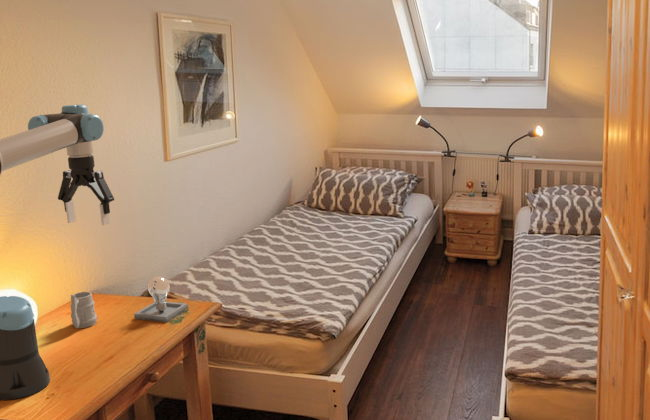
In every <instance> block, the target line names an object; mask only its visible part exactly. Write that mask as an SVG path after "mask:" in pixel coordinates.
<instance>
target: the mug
mask: <svg viewBox="0 0 650 420" xmlns="http://www.w3.org/2000/svg"><path fill="white" fill-rule="evenodd" d="M70 301H71V302H70V303H71V304H70V311H71V314H70V318H71V322H72V323H71V324H72V325H73V326H74V328H75V329H78V328H79V329H85V328H89V327H92V326H94V325H96V324H97V322H98V321H97V319H98V315H97V314H96V310H95V304H96V303H95V300H93V294H92V292H91V291H80V292H76V293H73V294H71V295H70Z"/></svg>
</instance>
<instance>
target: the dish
mask: <svg viewBox="0 0 650 420" xmlns="http://www.w3.org/2000/svg"><path fill="white" fill-rule="evenodd" d="M187 308H188V309H189V303H184V302H173V301H166V309H165V310H164V311H163V312H160V311H158V310H157V309H156V303H155V302H154V301H153V302H152V303H150V304H148V305H147V306H145V307H144V308H141V309H140V310H138V311H136V312H134V313H133V315H134V319H135V320H140V321H141V320H143V321H152V322H158V323H159V322H161V323H168V322H170V321H172V320H173V319H175V318H176V317H178V316H179V315H181V314H182V312H183V311H184V310H185V309H187ZM188 309H187V310H188ZM184 312H185V311H184ZM184 312H183V313H184ZM180 313H181V314H180Z"/></svg>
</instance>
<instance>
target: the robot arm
mask: <svg viewBox="0 0 650 420" xmlns="http://www.w3.org/2000/svg"><path fill="white" fill-rule="evenodd" d="M104 126H105V125H104V123H103V120H102V118H100V116H99V115H97V114H93V113H89V109H88V106H87V105H85V104H68V105H63V106H62V107H61V113H51V114H48V113H47V114H39V115H35V116H32V117H30V118H29V120H28V123H27V128H28V130H25V131H22V132H18V133H15V134H13V135H10V136H7V137H3V138H0V176H1V175H2V172H4V171H7V170H9V169H12V168H15V167H18V166H20V165H23V164H25V163H28V162H30V161H33V160H36V159H39V158H41V157H45V156H47V155H49V154H53V153H55V152H57V151H60V150H63V149H66V154H67V156H68V157H67V162H68V168H69V170H64V171H62V180H61V184H60V188H59V192H58V195H57V199H58V200H59V201H62V202H63V205H64V211H65V213H66V218H67V219H66V220H67V223H68V224H71V223H75V222H76V221H77V219H76V213H75V212H76V211H75V205H74V203H75V202H74V200H73V197H74V195H75V194H76V192H77V190H78V188H79V187H81V186H83V187H87V188H89V189H90V190H91V191H92V193H93V194H94V195H95V196H96V198H97V199H98V201H99V202H100V204H99V211H100V220H101V221H100V222H101V225H102V226H106V225H108V224H109V225H110V223H111V221H110V213H111V210H110V209H111V208H110V203H111V202H113V201H115V197H114V195H113V193H112V191H111V189H110V188H109V184H108V183H107V181H106V180H105V177H104V172H103V171H102V170H99V171H95V170H94V168H95V158H94V155H93V154H94V150H93V143H92V142H93V141H97V140H99V139H101V137H102V136H103V134H104V131H105V127H104ZM34 316H35V315H34V311H33V308H32V305H31V303H30V301H29V300H27V299H26V298H25V297H21V296H16V295H10V296H8V295H3V296H2V295H1V296H0V401H8V400H17V399H22V398H25V397H29V396H31V395H34V394H36V393H38V392H41V391H42V390H43V389H45V388H46V387H47V386H48V385H49V384H50V382H51V376H50V372H49V369H48V367H47V366H46V364H45V362H44V361H43V358H42V357H41V355H40V353H39V346H38V339H37V333H36V331H37V330H36V324H35V317H34Z"/></svg>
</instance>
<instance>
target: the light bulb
mask: <svg viewBox="0 0 650 420" xmlns="http://www.w3.org/2000/svg"><path fill="white" fill-rule="evenodd" d="M170 287H171V286H170V283H169V280H168V279H167V278H165V277H163V276H161V275H159V276H154V277H152V278H151V279H150V280H149V282H148V284H147V289H148V293H149V294H150V296H151V297H152V299H153V303H154V302H155V303H156V309H157V310H158V311H160V312H163V311H164V310H165V309H166V302H167V297H168V294H169V292H170Z"/></svg>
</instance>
